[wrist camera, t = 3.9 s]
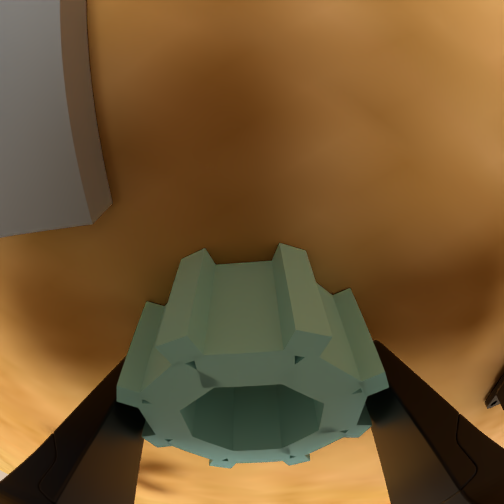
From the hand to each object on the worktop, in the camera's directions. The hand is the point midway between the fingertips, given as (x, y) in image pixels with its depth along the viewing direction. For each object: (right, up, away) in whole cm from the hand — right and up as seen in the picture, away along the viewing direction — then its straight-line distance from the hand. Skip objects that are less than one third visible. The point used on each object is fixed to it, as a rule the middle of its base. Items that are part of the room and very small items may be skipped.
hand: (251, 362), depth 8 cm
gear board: (-9, +12, -6) cm, 16 cm away
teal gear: (0, +1, +1) cm, 1 cm away
